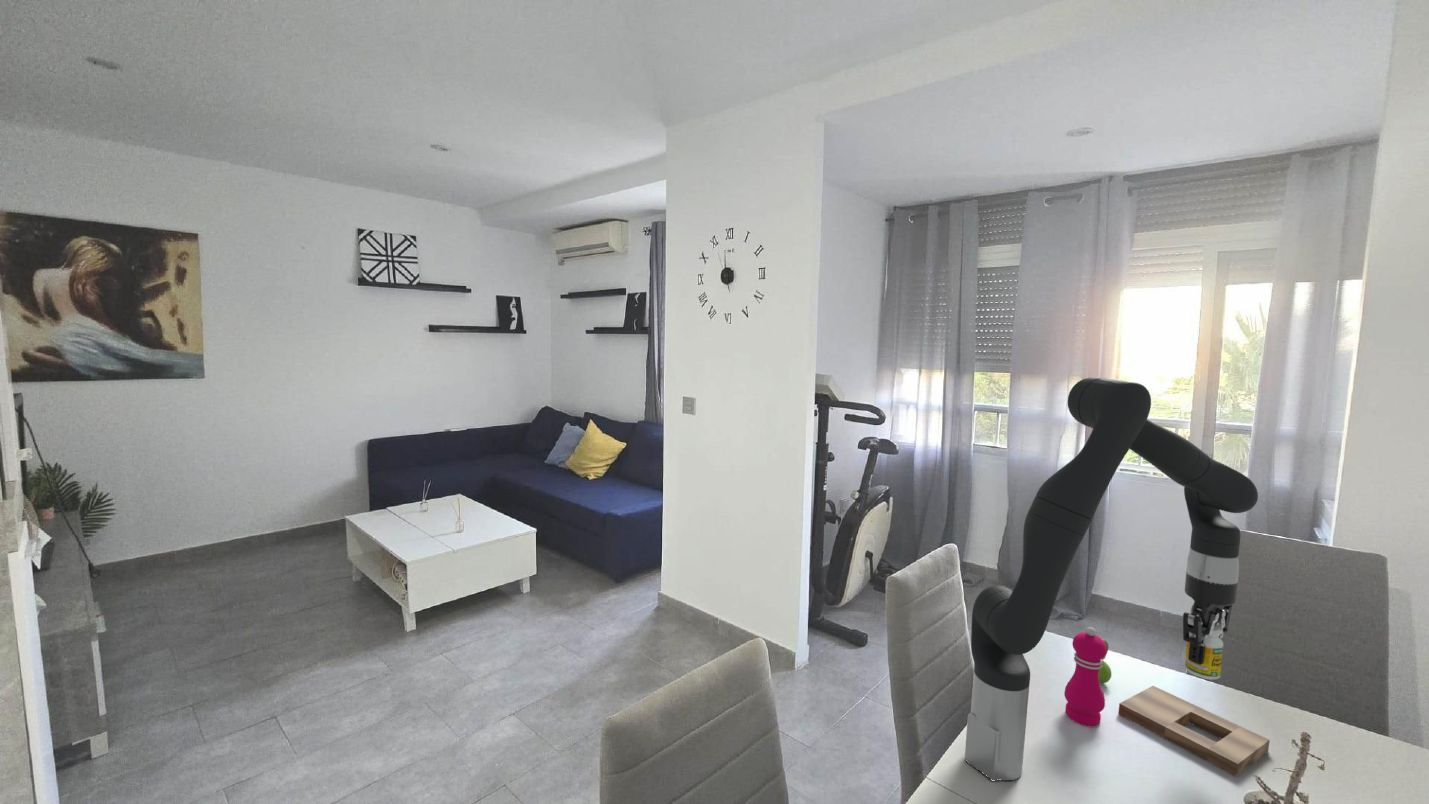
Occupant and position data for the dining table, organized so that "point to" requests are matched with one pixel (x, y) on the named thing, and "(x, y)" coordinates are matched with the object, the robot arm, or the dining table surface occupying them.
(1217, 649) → the supplement bottle
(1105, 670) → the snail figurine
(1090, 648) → the pepper mill
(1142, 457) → the robot arm
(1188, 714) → the collar plate
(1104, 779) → the dining table surface
